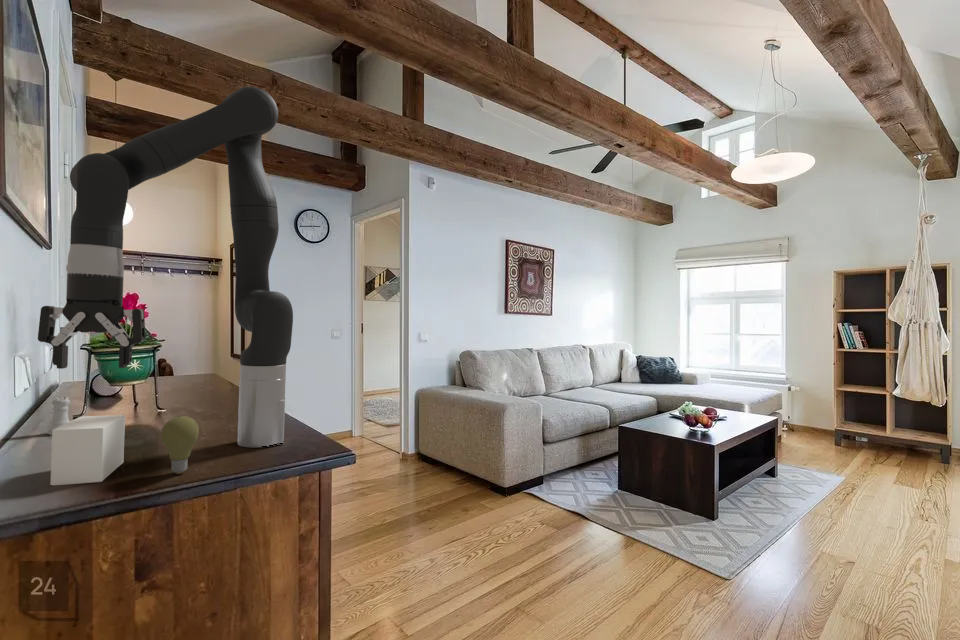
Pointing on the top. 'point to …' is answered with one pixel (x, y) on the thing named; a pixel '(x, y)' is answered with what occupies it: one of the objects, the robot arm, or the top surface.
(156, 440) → the top surface
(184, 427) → the light bulb
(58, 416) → the rook chess piece
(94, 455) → the light gray block
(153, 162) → the robot arm
